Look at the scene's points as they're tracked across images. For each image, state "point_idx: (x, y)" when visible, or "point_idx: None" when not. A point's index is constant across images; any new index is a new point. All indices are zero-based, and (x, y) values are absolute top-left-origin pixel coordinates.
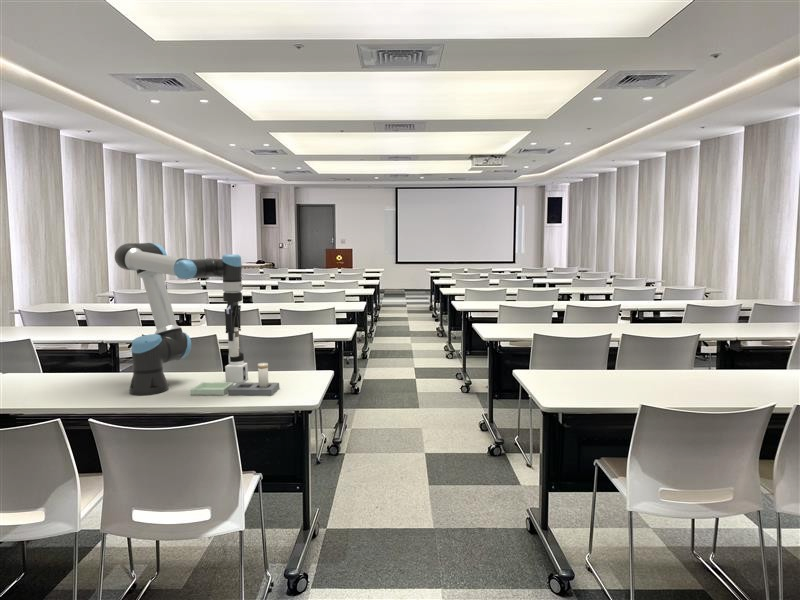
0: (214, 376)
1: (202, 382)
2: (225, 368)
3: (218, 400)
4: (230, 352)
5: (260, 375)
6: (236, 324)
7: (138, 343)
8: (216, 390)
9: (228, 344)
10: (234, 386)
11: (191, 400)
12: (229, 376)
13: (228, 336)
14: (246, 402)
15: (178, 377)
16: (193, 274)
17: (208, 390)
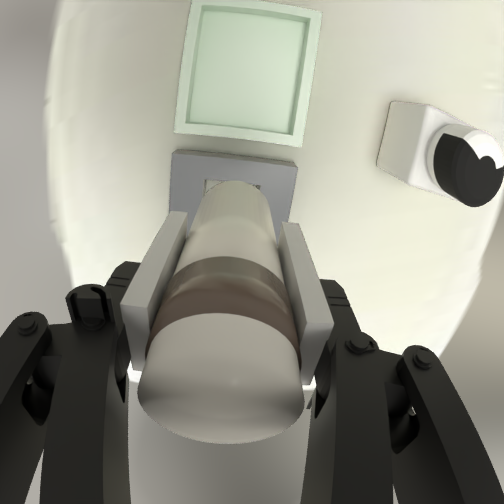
0: (480, 62)
1: (320, 14)
2: (421, 105)
3: (112, 133)
4: (198, 209)
5: None
6: (311, 455)
7: None
8: (177, 102)
9: (161, 230)
10: (224, 166)
11: (120, 35)
12: (399, 119)
13: (134, 280)
14: (94, 235)
15: None
16: None
17: (181, 68)
